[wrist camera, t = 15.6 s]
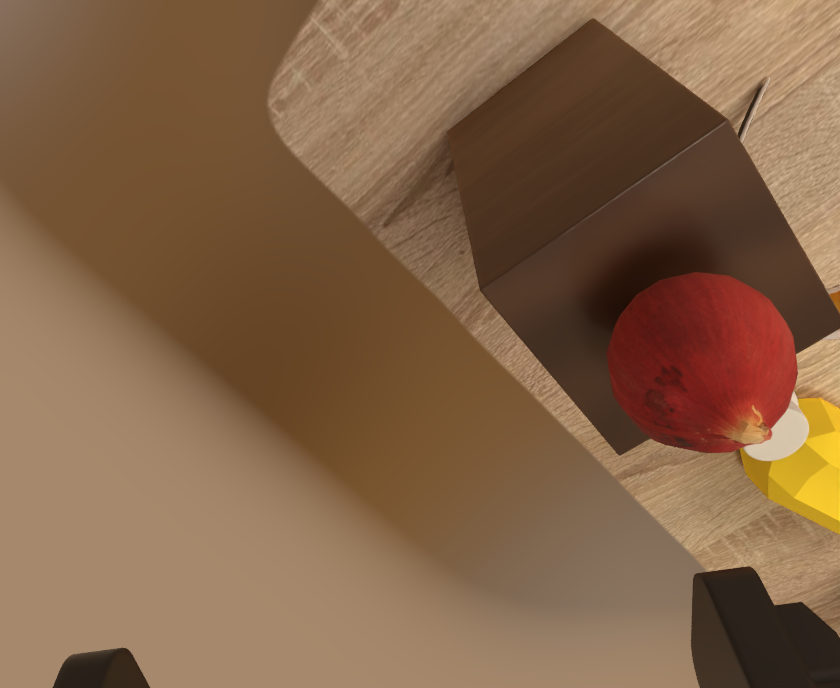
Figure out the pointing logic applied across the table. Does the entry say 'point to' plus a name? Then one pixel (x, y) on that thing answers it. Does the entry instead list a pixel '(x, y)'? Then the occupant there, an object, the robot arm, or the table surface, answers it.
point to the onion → (703, 363)
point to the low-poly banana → (806, 468)
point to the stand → (615, 210)
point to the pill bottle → (783, 435)
